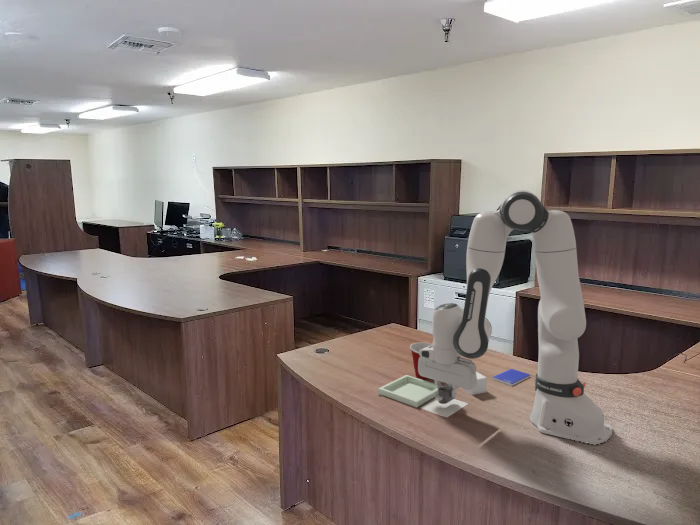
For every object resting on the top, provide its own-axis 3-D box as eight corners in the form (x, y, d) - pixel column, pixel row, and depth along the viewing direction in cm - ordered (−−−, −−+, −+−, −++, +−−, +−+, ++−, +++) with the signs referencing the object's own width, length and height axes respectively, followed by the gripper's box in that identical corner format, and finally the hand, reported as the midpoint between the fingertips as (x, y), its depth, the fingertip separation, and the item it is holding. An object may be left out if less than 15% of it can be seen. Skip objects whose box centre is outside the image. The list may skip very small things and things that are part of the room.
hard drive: (511, 383, 177) (530, 374, 185) (491, 376, 183) (510, 368, 191) (511, 387, 177) (530, 378, 185) (491, 380, 183) (510, 372, 191)
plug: (449, 394, 164) (449, 382, 164) (457, 396, 162) (457, 385, 162) (433, 403, 158) (433, 392, 157) (441, 406, 156) (441, 394, 155)
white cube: (486, 394, 171) (486, 377, 170) (471, 397, 169) (472, 380, 168) (475, 387, 176) (476, 371, 175) (461, 390, 174) (461, 373, 173)
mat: (468, 405, 162) (468, 403, 162) (446, 419, 153) (446, 417, 153) (442, 396, 169) (442, 394, 169) (420, 409, 160) (420, 407, 160)
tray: (443, 393, 171) (443, 386, 171) (416, 409, 160) (416, 401, 160) (406, 381, 182) (406, 374, 182) (378, 395, 171) (378, 388, 170)
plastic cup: (430, 386, 178) (430, 354, 176) (404, 379, 184) (404, 348, 182) (444, 376, 186) (444, 345, 184) (418, 370, 193) (418, 340, 191)
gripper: (481, 358, 153) (480, 400, 155) (426, 345, 167) (426, 384, 169) (470, 364, 149) (470, 407, 151) (414, 350, 163) (415, 390, 165)
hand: (446, 395), depth 160 cm, fingers closed on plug, 3 cm apart
